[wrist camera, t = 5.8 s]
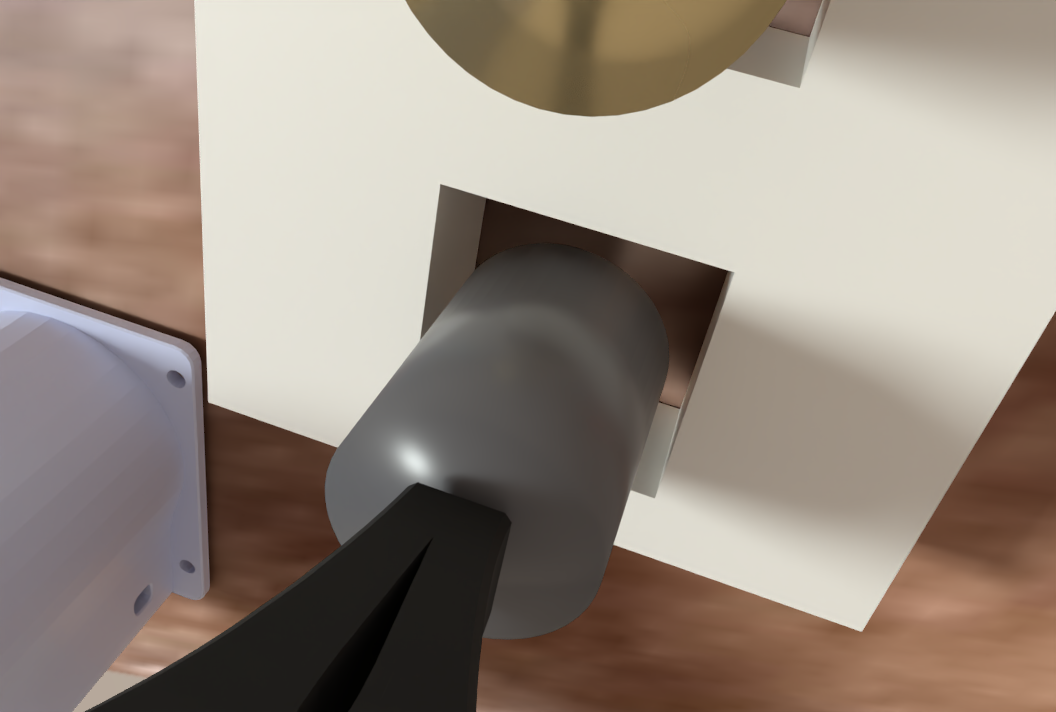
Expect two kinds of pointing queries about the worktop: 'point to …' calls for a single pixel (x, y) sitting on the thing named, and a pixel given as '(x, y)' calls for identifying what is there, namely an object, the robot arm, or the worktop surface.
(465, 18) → the knob middle
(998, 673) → the worktop surface
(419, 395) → the knob
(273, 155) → the housing
